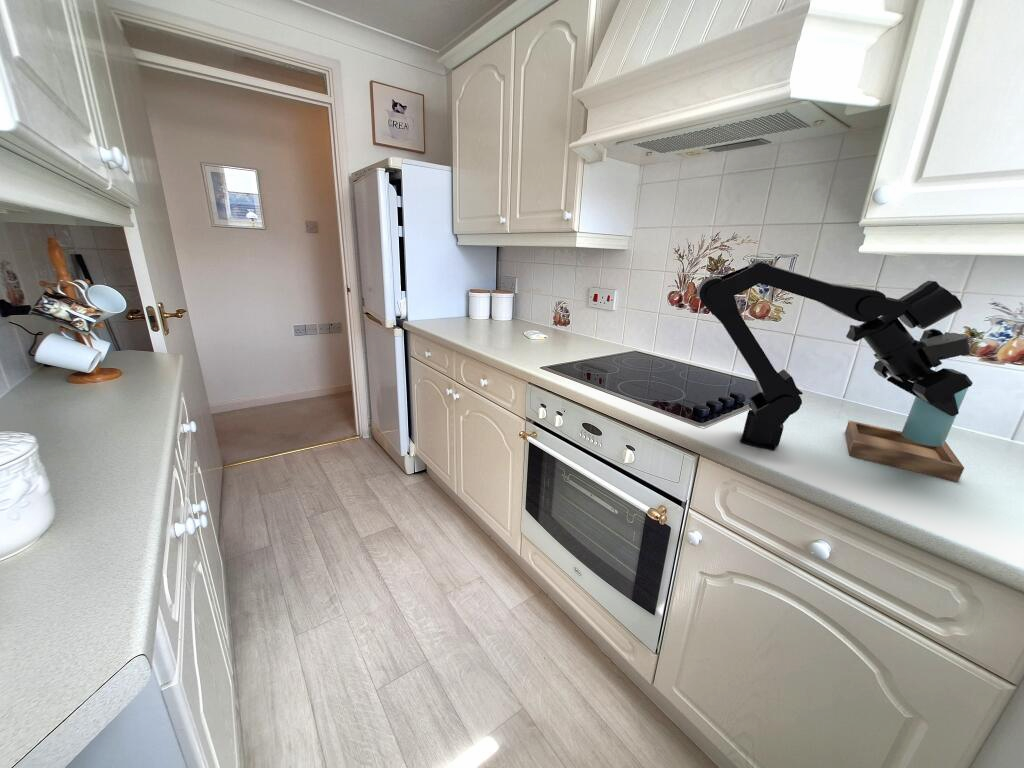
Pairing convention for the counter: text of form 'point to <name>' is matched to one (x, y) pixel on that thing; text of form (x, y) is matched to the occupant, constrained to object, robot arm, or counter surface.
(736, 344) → the robot arm
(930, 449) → the tray
